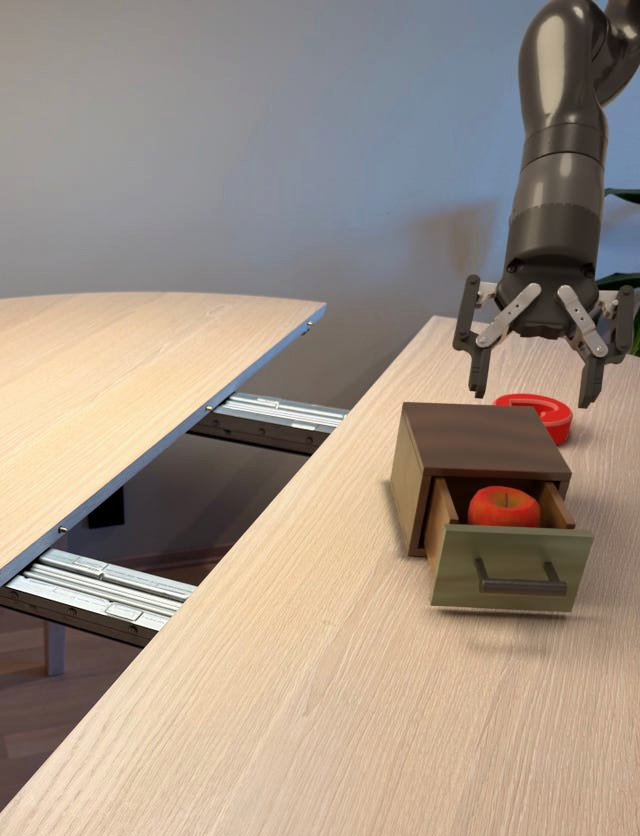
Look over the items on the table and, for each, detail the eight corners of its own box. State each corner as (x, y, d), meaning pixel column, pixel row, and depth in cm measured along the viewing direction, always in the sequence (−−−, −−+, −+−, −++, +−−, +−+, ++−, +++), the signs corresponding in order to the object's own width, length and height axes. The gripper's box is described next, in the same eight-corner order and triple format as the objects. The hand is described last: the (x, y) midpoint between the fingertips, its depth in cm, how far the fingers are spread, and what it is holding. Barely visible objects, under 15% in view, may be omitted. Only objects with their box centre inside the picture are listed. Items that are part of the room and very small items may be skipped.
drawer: (585, 643, 85) (611, 565, 80) (438, 636, 86) (455, 558, 81) (533, 532, 101) (552, 461, 96) (409, 526, 101) (422, 456, 97)
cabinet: (547, 562, 98) (572, 473, 92) (407, 555, 98) (423, 467, 93) (513, 488, 110) (533, 406, 105) (389, 483, 111) (402, 401, 105)
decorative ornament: (496, 410, 128) (501, 387, 126) (573, 425, 125) (579, 401, 123) (479, 437, 121) (484, 413, 120) (559, 453, 118) (566, 429, 116)
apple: (532, 558, 94) (551, 488, 90) (517, 588, 90) (536, 516, 85) (467, 541, 97) (482, 472, 92) (449, 570, 92) (465, 499, 88)
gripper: (476, 194, 83) (450, 373, 81) (655, 204, 80) (634, 390, 78) (465, 244, 91) (441, 409, 88) (629, 254, 88) (609, 425, 86)
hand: (532, 400), depth 83 cm, fingers open, 8 cm apart
